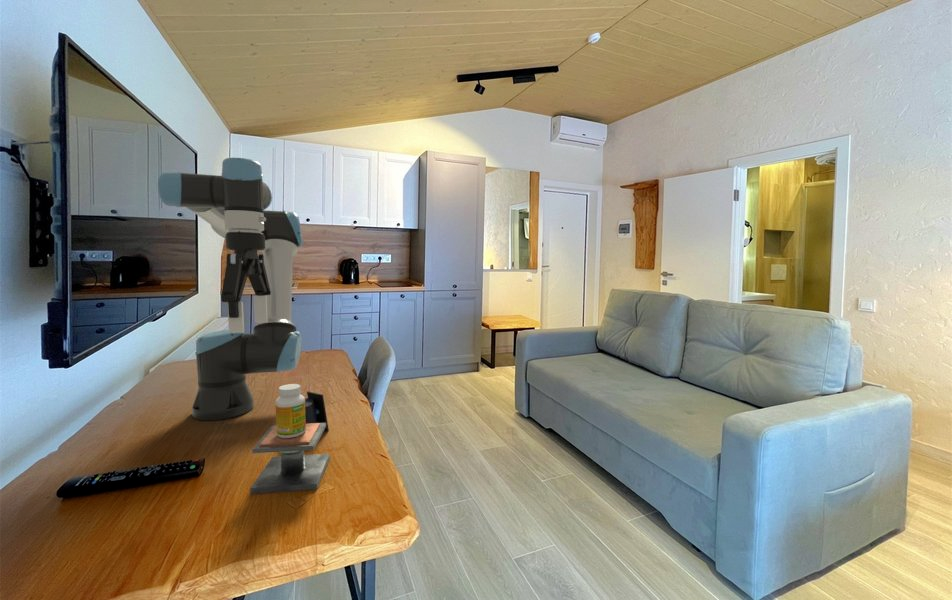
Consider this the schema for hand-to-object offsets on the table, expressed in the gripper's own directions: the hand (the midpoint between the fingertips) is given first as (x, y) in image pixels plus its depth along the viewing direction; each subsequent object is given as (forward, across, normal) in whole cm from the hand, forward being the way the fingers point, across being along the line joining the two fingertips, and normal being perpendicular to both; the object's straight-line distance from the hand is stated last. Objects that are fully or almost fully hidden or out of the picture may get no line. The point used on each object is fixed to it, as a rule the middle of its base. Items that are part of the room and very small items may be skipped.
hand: (249, 327), depth 91 cm
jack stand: (+29, -13, -12) cm, 34 cm away
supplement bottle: (+20, -13, -12) cm, 27 cm away
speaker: (+29, +7, -10) cm, 31 cm away
